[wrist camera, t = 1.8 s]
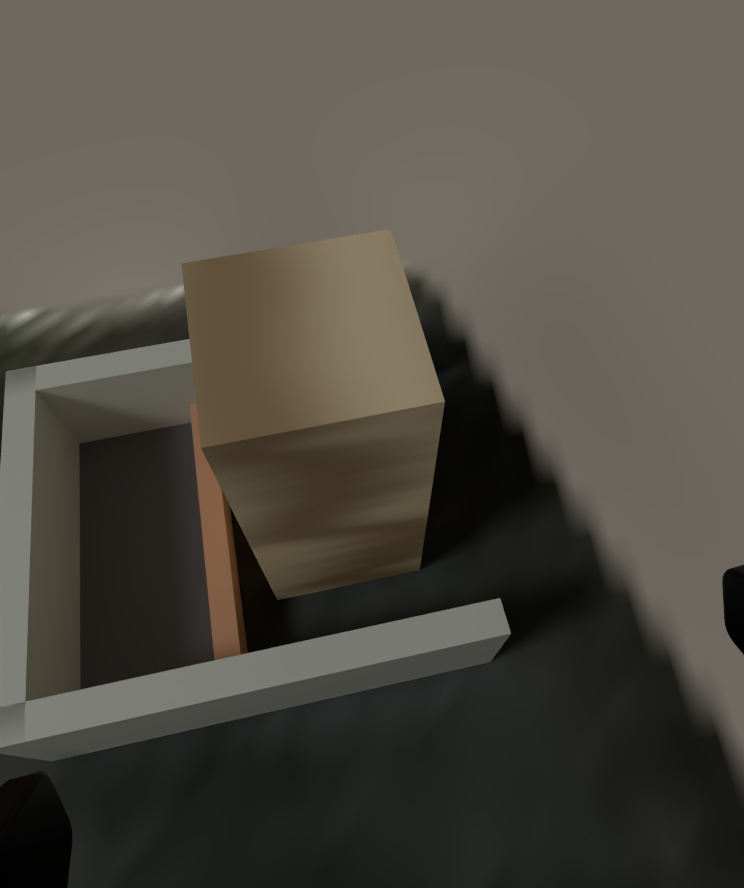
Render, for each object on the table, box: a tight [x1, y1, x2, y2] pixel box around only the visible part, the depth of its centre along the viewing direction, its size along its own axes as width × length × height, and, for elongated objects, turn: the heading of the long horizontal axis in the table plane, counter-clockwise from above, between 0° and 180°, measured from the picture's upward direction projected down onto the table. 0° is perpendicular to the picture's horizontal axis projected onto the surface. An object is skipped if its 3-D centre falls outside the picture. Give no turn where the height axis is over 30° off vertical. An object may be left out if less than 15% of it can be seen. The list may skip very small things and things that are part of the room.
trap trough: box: [0, 339, 511, 761], centre depth 22 cm, size 14×12×4 cm
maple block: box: [182, 229, 445, 600], centre depth 20 cm, size 5×5×11 cm
